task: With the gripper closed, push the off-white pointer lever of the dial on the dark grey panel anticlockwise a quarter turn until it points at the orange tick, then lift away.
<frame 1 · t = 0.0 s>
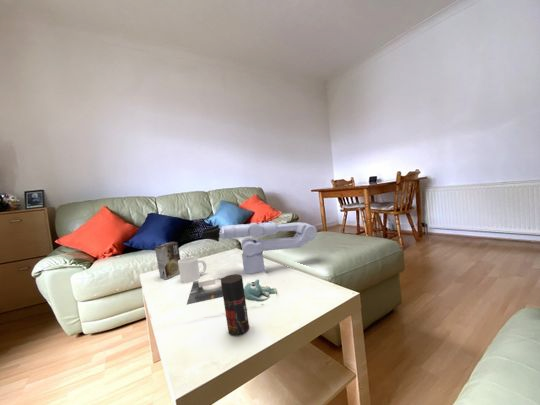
hand: (202, 233, 103), 22 cm above the table, tool horizontal, fingers open, 7 cm apart
stuffed animal: (261, 298, 85), on the table
mug: (195, 280, 109), on the table
deodorant: (239, 329, 67), on the table
panel: (213, 291, 94), on the table
coffee box: (171, 275, 119), on the table
dial: (208, 284, 94), point 3 cm above the table, hinge at 0.0°
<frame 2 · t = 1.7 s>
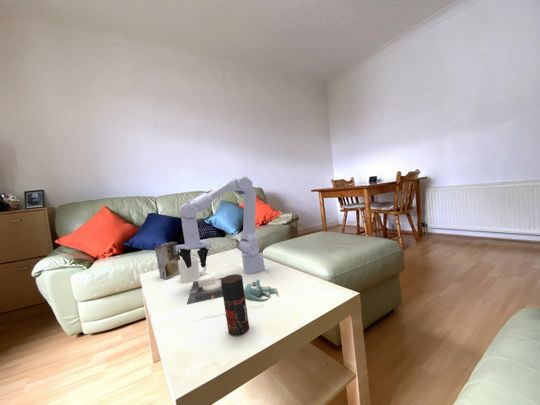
hand: (196, 266, 95), 10 cm above the table, tool pointing down, fingers open, 6 cm apart
nothing on the table moved.
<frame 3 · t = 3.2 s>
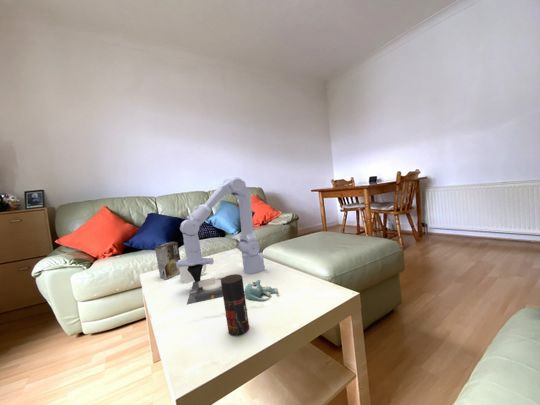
hand: (198, 282, 94), 4 cm above the table, tool pointing down, fingers closed, pressing on dial
dial: (208, 284, 93), point 3 cm above the table, hinge at 2.9°, touching gripper
everything else where it was.
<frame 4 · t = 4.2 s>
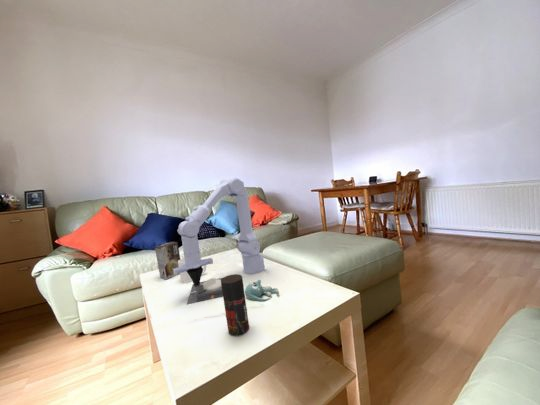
hand: (197, 286, 90), 4 cm above the table, tool pointing down, fingers closed, pressing on dial
dial: (209, 285, 92), point 3 cm above the table, hinge at 44.3°, touching gripper
everything else where it was.
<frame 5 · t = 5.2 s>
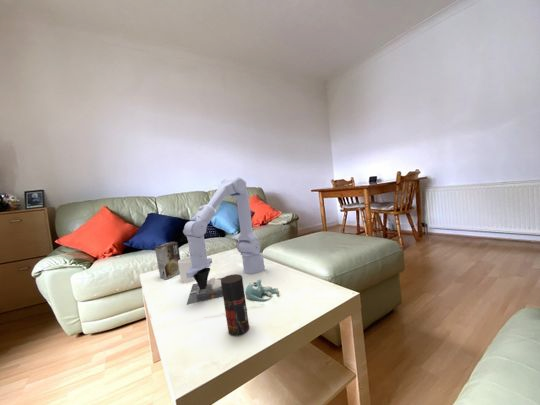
hand: (203, 288, 88), 4 cm above the table, tool pointing down, fingers closed, pressing on dial
dial: (211, 285, 92), point 3 cm above the table, hinge at 81.0°, touching gripper
everything else where it was.
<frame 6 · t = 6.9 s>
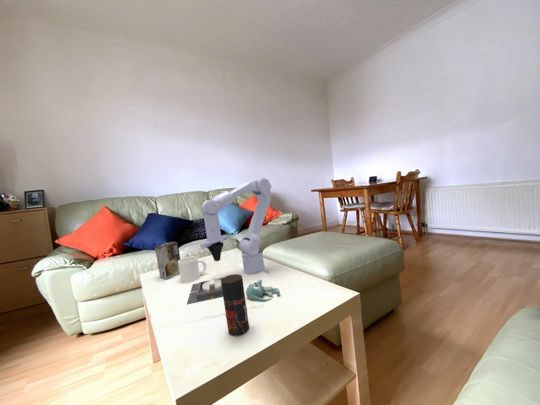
hand: (217, 260, 99), 10 cm above the table, tool pointing down, fingers closed
dial: (212, 285, 92), point 3 cm above the table, hinge at 92.2°
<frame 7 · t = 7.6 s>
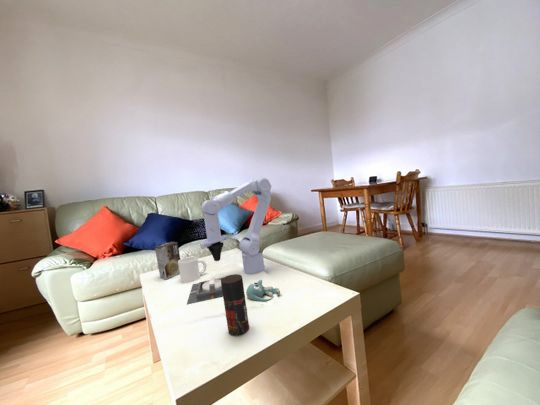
hand: (217, 260, 99), 10 cm above the table, tool pointing down, fingers closed
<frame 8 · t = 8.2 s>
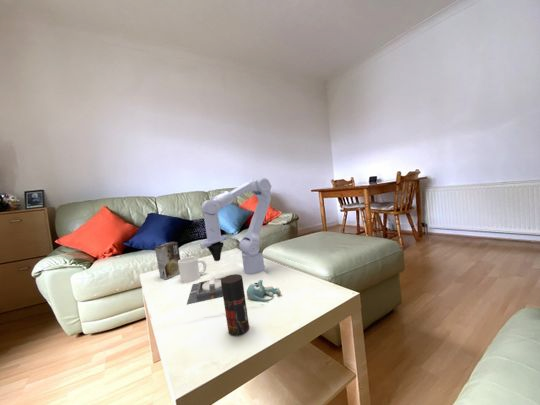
hand: (217, 260, 99), 10 cm above the table, tool pointing down, fingers closed
at the end: dial at +92° (first picture: +0°); dial touching nothing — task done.
